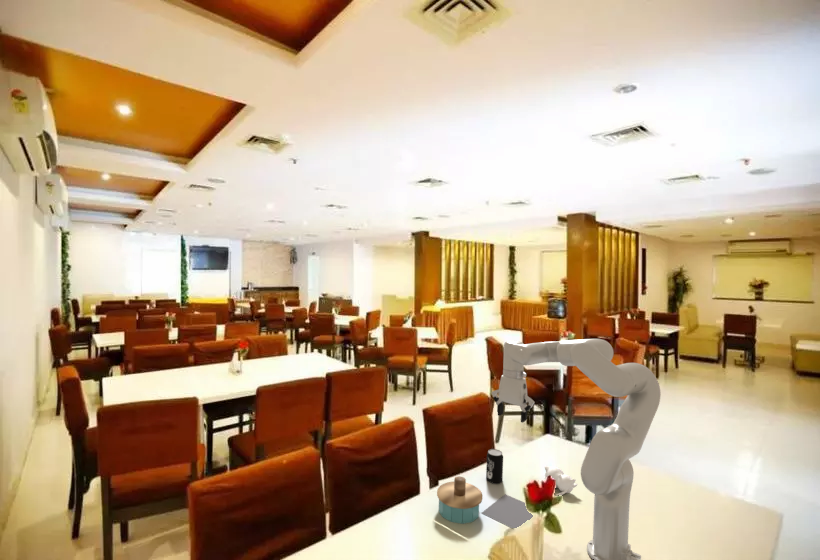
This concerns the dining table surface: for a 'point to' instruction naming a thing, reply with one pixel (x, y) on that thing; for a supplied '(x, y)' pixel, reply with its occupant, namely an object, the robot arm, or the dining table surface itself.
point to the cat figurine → (561, 479)
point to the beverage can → (494, 466)
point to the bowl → (458, 513)
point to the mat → (508, 511)
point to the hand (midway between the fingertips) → (511, 418)
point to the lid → (459, 494)
